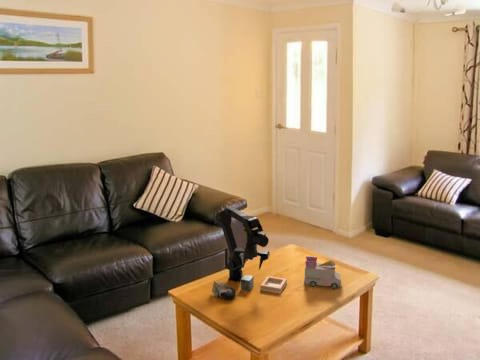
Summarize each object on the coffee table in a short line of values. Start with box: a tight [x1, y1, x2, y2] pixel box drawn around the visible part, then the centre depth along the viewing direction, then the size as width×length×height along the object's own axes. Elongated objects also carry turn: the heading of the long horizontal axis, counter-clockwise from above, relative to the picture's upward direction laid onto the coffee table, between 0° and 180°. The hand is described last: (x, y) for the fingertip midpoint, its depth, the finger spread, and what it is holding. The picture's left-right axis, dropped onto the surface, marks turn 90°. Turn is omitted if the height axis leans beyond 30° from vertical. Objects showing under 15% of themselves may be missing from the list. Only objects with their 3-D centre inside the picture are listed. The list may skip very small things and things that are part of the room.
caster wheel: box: [211, 280, 237, 301], centre depth 241 cm, size 7×11×10 cm
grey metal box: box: [240, 274, 255, 292], centre depth 250 cm, size 5×6×6 cm
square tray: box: [259, 275, 288, 294], centre depth 251 cm, size 11×12×3 cm
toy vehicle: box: [303, 256, 342, 290], centre depth 251 cm, size 9×20×15 cm, turn 78°
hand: (251, 268), depth 248 cm, fingers open, 9 cm apart
